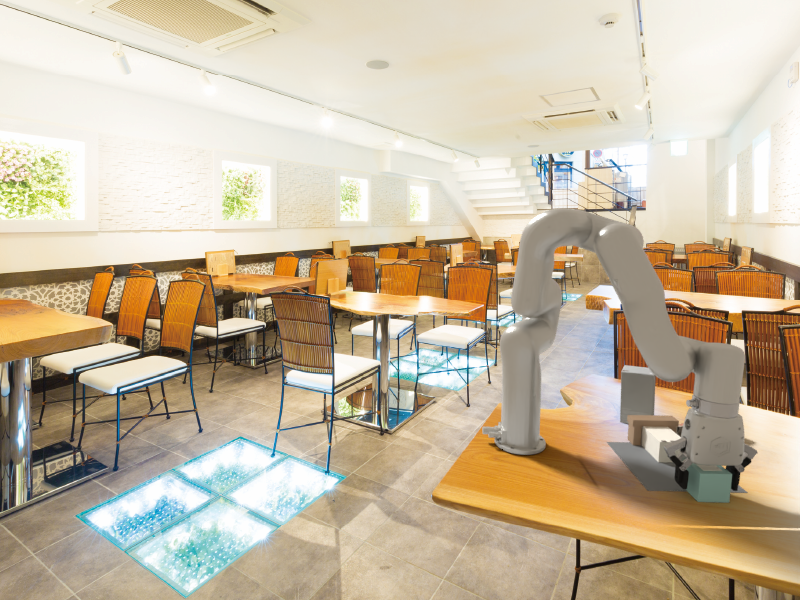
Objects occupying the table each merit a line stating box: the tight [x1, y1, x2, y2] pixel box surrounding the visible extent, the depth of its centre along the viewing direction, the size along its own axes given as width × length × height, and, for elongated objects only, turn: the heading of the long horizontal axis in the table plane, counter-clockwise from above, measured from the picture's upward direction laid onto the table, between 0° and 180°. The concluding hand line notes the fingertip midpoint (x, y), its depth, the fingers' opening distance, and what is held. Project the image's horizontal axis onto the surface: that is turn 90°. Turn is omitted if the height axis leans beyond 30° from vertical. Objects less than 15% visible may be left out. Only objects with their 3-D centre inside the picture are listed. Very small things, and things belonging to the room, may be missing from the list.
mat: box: [606, 441, 748, 494], centre depth 105 cm, size 20×22×1 cm
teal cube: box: [686, 463, 732, 503], centre depth 93 cm, size 6×5×6 cm
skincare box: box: [619, 364, 657, 425], centre depth 128 cm, size 8×7×16 cm
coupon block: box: [627, 414, 684, 462], centre depth 112 cm, size 11×12×7 cm
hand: (705, 486), depth 93 cm, fingers open, 9 cm apart
